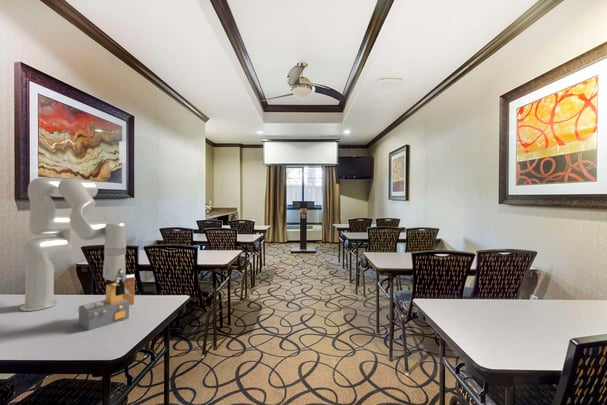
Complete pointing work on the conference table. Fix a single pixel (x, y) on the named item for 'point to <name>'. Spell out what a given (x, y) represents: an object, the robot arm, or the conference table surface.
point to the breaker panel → (102, 313)
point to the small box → (129, 288)
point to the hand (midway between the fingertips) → (114, 292)
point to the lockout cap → (112, 294)
